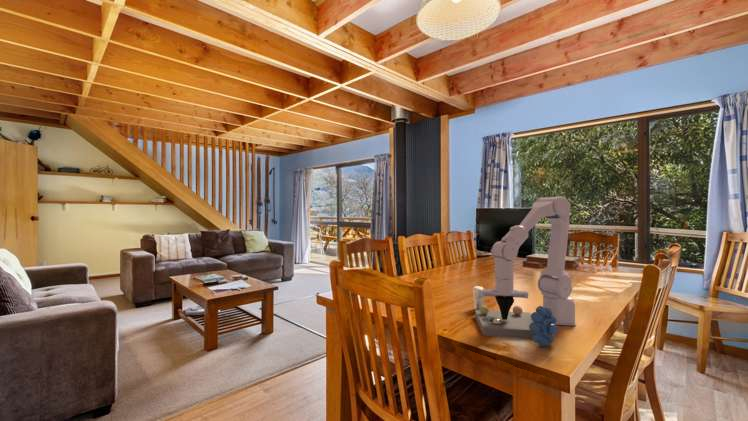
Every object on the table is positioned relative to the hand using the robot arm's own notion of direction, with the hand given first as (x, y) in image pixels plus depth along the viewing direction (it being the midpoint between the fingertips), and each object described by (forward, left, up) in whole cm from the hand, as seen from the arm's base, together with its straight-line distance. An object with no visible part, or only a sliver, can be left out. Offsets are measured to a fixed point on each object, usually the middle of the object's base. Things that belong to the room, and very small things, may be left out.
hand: (504, 318), depth 108 cm
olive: (+5, -6, +1) cm, 8 cm away
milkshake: (+5, -20, -4) cm, 21 cm away
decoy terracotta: (-6, -7, +1) cm, 10 cm away
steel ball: (+2, 0, -2) cm, 3 cm away
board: (-2, -2, -3) cm, 4 cm away
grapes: (-8, +14, -4) cm, 16 cm away
